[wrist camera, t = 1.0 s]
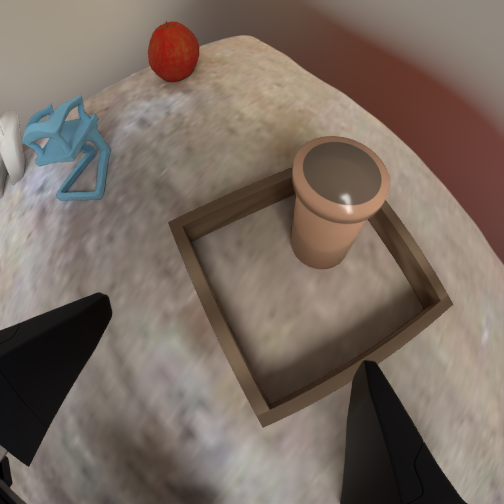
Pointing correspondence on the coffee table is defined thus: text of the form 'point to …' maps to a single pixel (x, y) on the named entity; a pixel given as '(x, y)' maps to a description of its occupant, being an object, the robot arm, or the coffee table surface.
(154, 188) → the coffee table surface
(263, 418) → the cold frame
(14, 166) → the white wavy slab sculpture
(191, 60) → the apple
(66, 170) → the coffee table surface
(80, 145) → the chair
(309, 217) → the terracotta pot
